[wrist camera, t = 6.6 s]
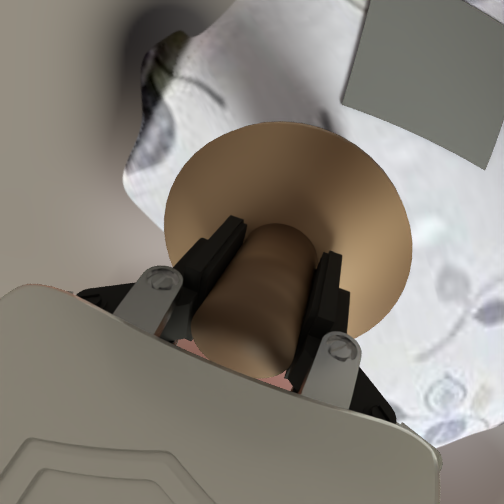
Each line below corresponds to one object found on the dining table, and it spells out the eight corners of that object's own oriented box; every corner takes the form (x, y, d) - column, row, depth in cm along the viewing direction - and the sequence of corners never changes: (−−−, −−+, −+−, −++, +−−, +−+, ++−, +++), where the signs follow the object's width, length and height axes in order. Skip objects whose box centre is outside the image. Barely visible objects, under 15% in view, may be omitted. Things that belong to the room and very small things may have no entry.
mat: (520, 39, 13) (522, 38, 12) (483, 169, 20) (484, 170, 20) (378, -33, 15) (378, -35, 14) (342, 104, 22) (341, 104, 22)
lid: (451, 181, 10) (514, 257, 5) (348, 362, 16) (334, 454, 11) (188, 95, 11) (84, 113, 6) (167, 294, 17) (110, 365, 13)
